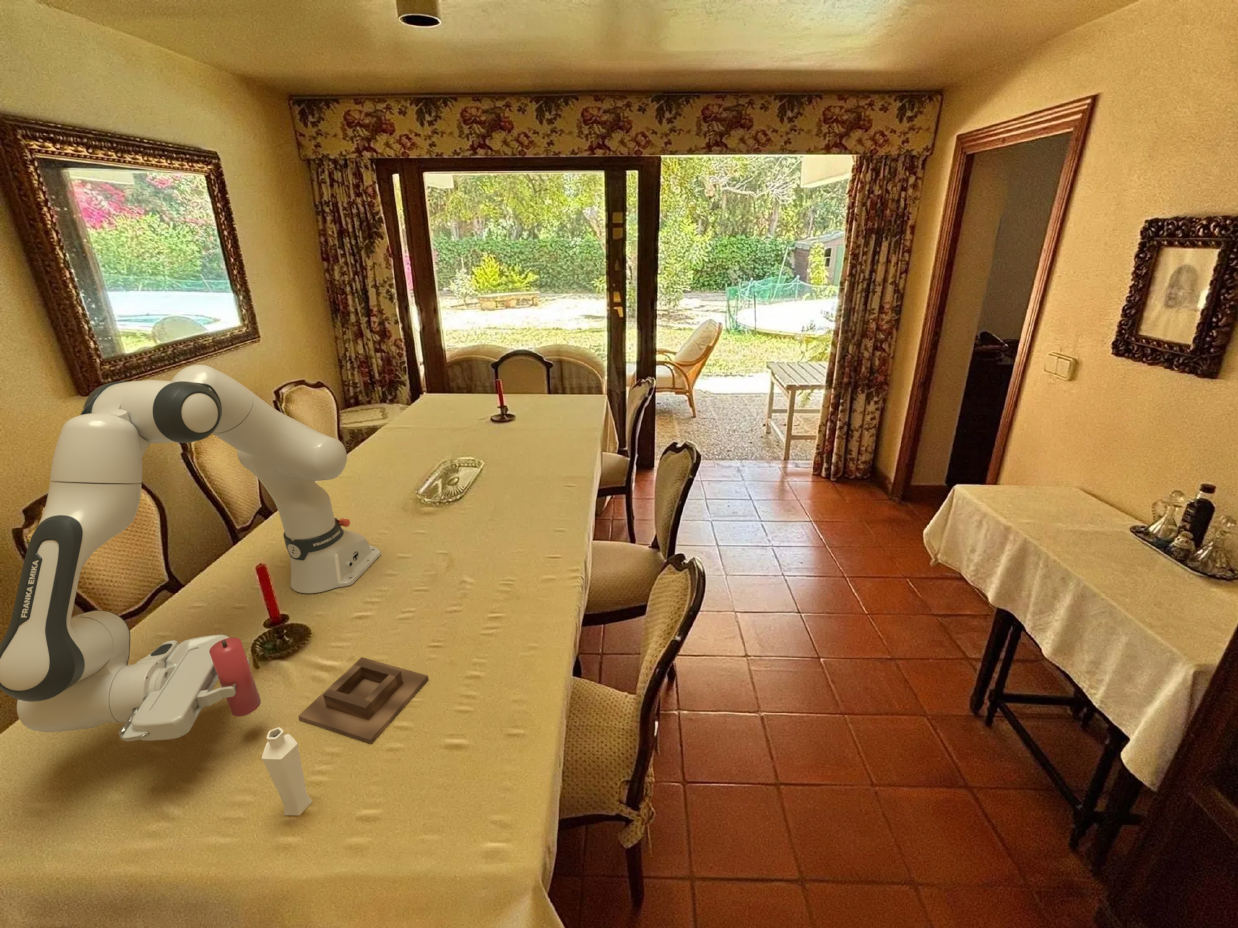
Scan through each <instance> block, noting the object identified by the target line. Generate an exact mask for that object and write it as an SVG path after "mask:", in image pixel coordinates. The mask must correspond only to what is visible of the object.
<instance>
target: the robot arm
mask: <svg viewBox="0 0 1238 928" xmlns="http://www.w3.org/2000/svg"><path fill="white" fill-rule="evenodd" d="M82 408H83V409H82V411H81V412H80V415H77V416H73V417H72V418H70V419H68V420H67V421H66V422H65V423H64V424H63V426H62V427H61V431H60V433H59V436H58V439H57V441H56V445H55V448H54V449H55V450H54V452H53V456H52V461H51V467H50V474H49V475H50V476H49V482H48V484H49V486H48V490H47V491H48V492H47V496H46V497H47V498H46V501H45V502H46V503H45V506H44V510H43V514H42V515H41V518H40V521H39V523H38V525H37V526H36V527H35V529H34V532H33V533H32V535H31V537H30V539H29V540H30V541H29V543H28V546H27V549H26V553H25V557H24V560H23V564H22V568H21V573H20V579H19V582H18V587H17V591H16V596H15V601H14V604H13V610H12V614H11V619H10V622H9V625H8V628H7V630H6V633H5V634H4V636H3V639H2V640H1V641H0V691H2V692H3V693H4V694H6V695H7V696H9V697H11V698H13V699H16V700H17V702H16V712H17V717H18V719H19V721H20V722H21V723H22V725H23V726H24V727H26V728H27V729H29V730H31V731H35V732H39V733H63V732H71V731H73V732H74V731H81V730H86V729H94V728H97V727H99V726H101V725H104V724H108V723H109V724H110V723H113V724H122V726H121V727H120V729H119V731H118V735H119V739H120V740H121V741H123V742H133V741H137V740H141V741H164V740H172V739H173V740H174V739H178V738H179V739H180V738H181V737H183V736H185V735H186V734H188V733H190V731H191V729H192V727H193V726H194V724H195V721H196V720H197V718H198V716H199V714H200V712H201V711H202V710H203V708H206V707H210V706H212V705H213V704H216V703H217V702H219V701H221V700H223V699H226V698H227V697H233V696H234V695H235V693H236V691H237V689H238V687H237V684H236V683H235V682H231V683H224V684H223V685H222V686H220V687H218V688H215V689H214V687H215V686H216V683H217V682H218V680H219V678H218V675H217V672H216V669H215V667H214V664H213V661H212V658H211V656H210V653H209V650H210V648H211V647H212V646H213V645H214V644H216V643H217V642H219V641H221V640H223V639H226V638H230V637H229V636H228V635H225V634H213V635H212V634H211V635H206V636H205V635H203V636H199V637H197V636H196V637H193V638H192V637H191V638H189V639H185V640H183V641H181V642H180V643H178V640H175V639H171V640H167V641H164V642H163V643H162V644H160V645H159V646H158V647H156V648H155V649H154V650H153V651H152V652H151V653H149V654H147V655H145V657H143V658H141V659H139V660H138V661H137V662H136V663H134V664H129V661H130V651H131V630H130V627H129V626H128V625H129V624H127V622H126V621H125V619H123V618H122V617H121V616H120V615H118V614H117V613H115V612H112V611H108V610H104V609H103V610H100V609H98V610H96V609H95V610H91V611H87V612H85V613H84V612H83V613H79V614H77V615H74V616H72V614H73V611H74V605H75V601H76V600H75V599H76V597H77V591H78V585H79V580H80V576H81V572H82V569H83V567H84V565H85V564H86V562H87V561H88V559H90V558H91V556H92V555H93V554H94V553H95V552H96V551H97V550H98V549H99V548H100V547H102V546H103V545H105V543H107V542H108V541H110V540H111V539H112V538H114V537H115V536H117V535H119V534H121V533H122V532H123V531H125V530H126V529H128V527H129V526H130V525H132V524H133V522H134V520H135V518H136V516H137V513H138V510H139V507H140V502H141V496H142V482H143V457H144V454H145V453H146V451H147V449H148V448H149V446H150V445H152V444H168V443H179V444H189V443H193V442H199V441H202V440H204V439H206V438H208V437H209V436H211V435H214V436H215V437H217V438H218V439H220V440H222V441H224V443H227V444H228V445H229V446H231V447H233V448H234V449H235V450H237V451H236V452H237V453H236V454H237V458H238V461H239V463H240V464H241V465H242V466H243V467H244V468H245V469H247V470H249V472H251V473H252V474H253V475H254V476H255V477H256V478H257V479H258V481H259V482H261V484H262V485H263V487H264V488H265V489H266V490H267V492H268V494H269V495H270V498H271V499H272V501H273V502H274V504H275V505H276V509H277V511H278V515H279V519H280V520H281V525H282V528H283V535H282V537H283V539H284V544H285V545H284V546H285V548H286V550H287V552H288V555H289V561H290V587H291V589H292V590H293V591H295V592H298V593H300V594H317V593H323V592H327V591H329V590H333V589H336V588H342V587H348V586H351V585H353V584H354V583H355V582H356V581H357V580H358V579H359V578H360V577H361V576H362V575H363V574H364V573H365V571H367V570H368V569H369V568H370V567H371V565H372V564H374V562H375V561H377V559H378V558H379V557H380V556H381V555H382V554H381V550H380V549H379V548H377V547H376V546H374V545H370V544H369V542H368V540H367V538H366V537H365V536H363V535H362V534H360V533H358V532H355V531H351V530H347V529H343V527H345V528H347V527H348V528H349V526H351V525H350V524H351V521H350V519H348V518H343V517H342V518H340V519H338V518H336V517H335V515H334V512H333V506H332V501H331V496H330V495H329V493H328V492H327V491H326V490H325V488H323V487H322V486H320V485H319V484H318V483H317V482H320V481H321V482H322V481H330V480H334V479H337V478H338V477H339V476H340V475H341V474H342V473H343V471H344V469H345V468H346V465H347V461H348V460H347V459H348V456H347V455H348V454H347V449H346V447H345V445H344V444H343V443H342V441H340V440H339V439H338V438H334V437H332V436H329V435H327V434H324V433H322V432H320V431H317V430H316V429H314V428H312V427H310V426H308V425H306V424H305V423H303V422H301V421H298V420H297V419H295V418H294V417H293V418H292V417H290V416H289V415H287V414H285V413H283V412H281V411H279V410H277V409H276V408H274V407H272V406H271V405H270V404H269V403H267V402H266V401H265V400H263V399H262V398H261V397H259V396H258V395H257V394H255V393H254V392H253V391H251V390H250V389H249V388H247V387H246V386H245V385H243V384H242V383H241V382H239V381H238V380H236V379H234V378H233V377H231V376H229V375H228V374H226V373H224V372H223V371H220V370H218V369H216V368H214V367H211V366H210V365H205V364H194V365H193V364H191V365H189V366H187V367H184V368H183V369H181V370H179V371H178V372H177V373H175V375H174V376H173V377H172V378H171V380H163V379H162V380H161V379H146V380H132V381H126V380H120V381H119V380H117V381H112V382H108V383H105V384H102V385H100V386H98V387H96V388H95V389H94V390H93V391H91V393H89V395H88V396H87V398H86V399H85V402H84V405H83V407H82ZM247 660H248V663H249V666H250V664H251V663H250V660H249V658H248V657H247Z"/></svg>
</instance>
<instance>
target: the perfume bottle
mask: <svg viewBox="0 0 1238 928" xmlns="http://www.w3.org/2000/svg"><path fill="white" fill-rule="evenodd" d="M266 740H267V742H266V744H265V745H264V746H265V747H264V749H263V753H262V755H261V760H262V762H263V764H264V766H265V767H266V770H267V772H268V774H269V777H270V778H271V781H272V783H273V785H274V787H275V789H276V791H277V792H278V795H279V797H280V799H281V801H282V803H283V805H284V806H283V809H284V810H283V815H284V816H301V815H302V813H304V812H305V810H306V809H307V808H308V807H309V806H310V805H311V804H312V803H313V799H312V798H311V797H310V796H309V795H308V792H307V786H306V782H305V781H306V780H305V776H304V771H303V766H302V760H301V756H300V755H301V754H300V751H299V750H300V748H299V745H298V742H297V740H295V738H294V737H293V736H292V735H291V734H290V733H286V734H284V730H283V729H282V728H281V727H279V726H278V727H275V728H273V729H270V730H269V731H268V732H267V735H266Z"/></svg>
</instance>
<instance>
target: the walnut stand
mask: <svg viewBox="0 0 1238 928" xmlns="http://www.w3.org/2000/svg"><path fill="white" fill-rule="evenodd" d="M428 681H429V675H427V674H424V673H421V672H418V671H417V672H416V671H413V670H408V669H406V668H401V667H398V666H394V665H391V664H388V663H384V662H381V661H377V660H374V659H370V658H367V657H363V656H361V657H360V658H359V659H358V660H357V661H356V662H355V663H353V664H352V665H351V666H350V667H349V668H348V669H347V670H346V671H345V672H344V673H342V675H341V676H340V677H338V678H337V680H335V681H334V682H333V683H332V684H331V685H330V686H328V688H326V689H325V690H324V691H323V692H322V693H321V694H320V695H319V696H318V697H316V699H314V701H313V702H312V703H310V704H309V705H308V706H307V707H306V708H305V709H304V710H302V712H301V713H299V715H298V716H297V717H298V720H299V721H301V722H304V723H308V724H310V725H313V726H316V727H319V728H322V729H325V730H328V731H331V732H334V733H336V734H340V735H343V736H346V737H349V738H351V739H355V740H357V741H361V742H363V743H367V744H370V745H372V744H373V743H374V742H375V741H376V740H377V738H379V736H380V735H381V734H382V733H383V732H384V730H386V728H388V727H389V725H390V724H391V723H392V721H394V720H395V718H396V717H397V716H398V715H399V714H400V713H401V712H402V710H403V709H404V708H405V707H406V706H407V705H408V703H409V702H410V701H411V700H412V699H413V698H414V697H415V695H416V694H417V693H418V692H419V691H420V690H422V689H421V688H423V687H424V686H425V685H426V683H427V682H428Z"/></svg>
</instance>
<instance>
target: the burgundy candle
mask: <svg viewBox="0 0 1238 928" xmlns="http://www.w3.org/2000/svg"><path fill="white" fill-rule="evenodd" d="M209 653H210V656H211V658H212V661H213V664H214V667H215V669H216V672H217V675H218V680H219V683H220V687H222V685H223V684H224V683H231V682H235V683H236V684H237V687H238V689H237V691H236V693H235V695H234V696H233V697H227V698H225V699H226V702H227V704H228V707H229V710H230V713H231V715H232V716H234V717H237V718H238V717H245V716H247V715H250V714H251V713H254V712H255V711H256V710H258V709H259V708H260V705H261V703H262V700H261V696H260V694H259V691H258V688H257V687H258V686H257V685H256V681H255V679H254V676H253V672H252V670H251V667H250V665H249V663H248V660H247V658H248V657H247V654H246V652H245V649H244V645H243V642H242V640H241V638H239V637H236V636H234V637H229V638H226V639H223V640H221V641H219V642H217V643H216V644H214V645H213V646H212V647H211V648H210V650H209Z"/></svg>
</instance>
